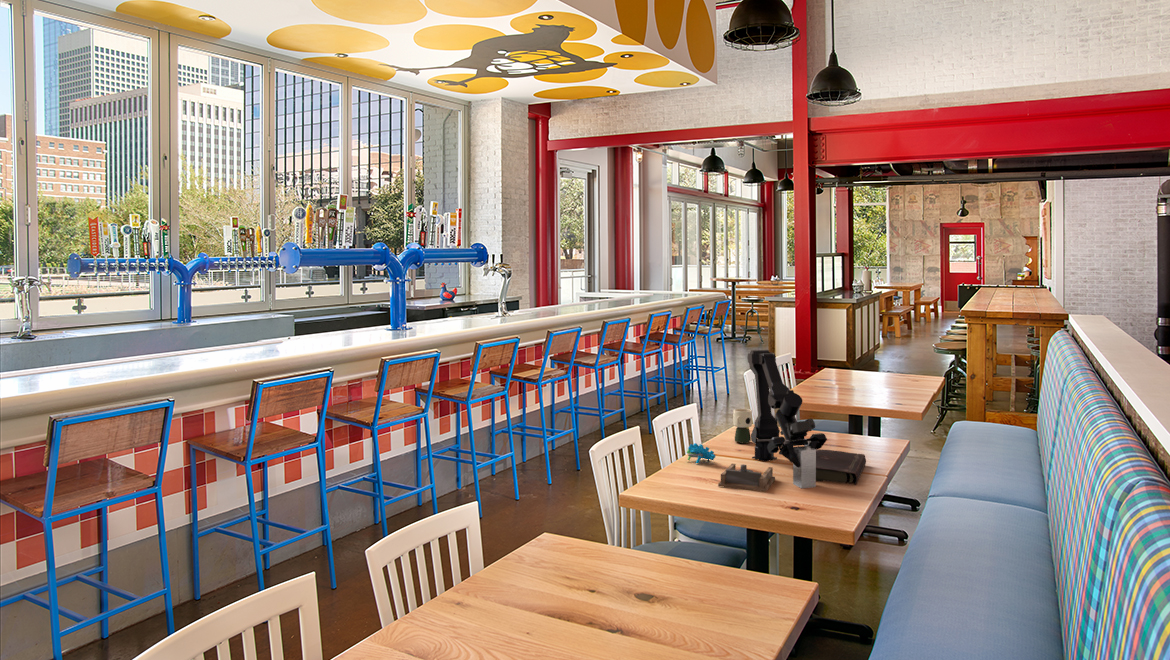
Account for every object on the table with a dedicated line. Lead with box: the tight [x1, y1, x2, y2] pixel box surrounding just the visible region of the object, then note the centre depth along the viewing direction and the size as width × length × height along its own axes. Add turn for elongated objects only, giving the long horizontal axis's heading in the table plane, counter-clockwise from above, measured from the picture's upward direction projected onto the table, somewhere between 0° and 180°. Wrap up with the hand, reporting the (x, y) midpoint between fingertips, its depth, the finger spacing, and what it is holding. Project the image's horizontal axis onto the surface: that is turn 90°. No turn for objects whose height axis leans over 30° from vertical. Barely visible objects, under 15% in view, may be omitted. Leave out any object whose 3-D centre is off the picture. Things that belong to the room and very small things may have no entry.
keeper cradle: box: [717, 463, 776, 493], centre depth 244 cm, size 14×15×7 cm
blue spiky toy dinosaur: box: [686, 442, 717, 464], centre depth 270 cm, size 11×6×10 cm
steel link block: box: [792, 445, 817, 489], centre depth 240 cm, size 5×5×12 cm
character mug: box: [732, 408, 753, 444], centre depth 298 cm, size 11×7×13 cm, turn 147°
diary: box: [816, 448, 867, 486], centre depth 255 cm, size 19×25×5 cm
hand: (806, 466), depth 239 cm, fingers closed on steel link block, 5 cm apart
